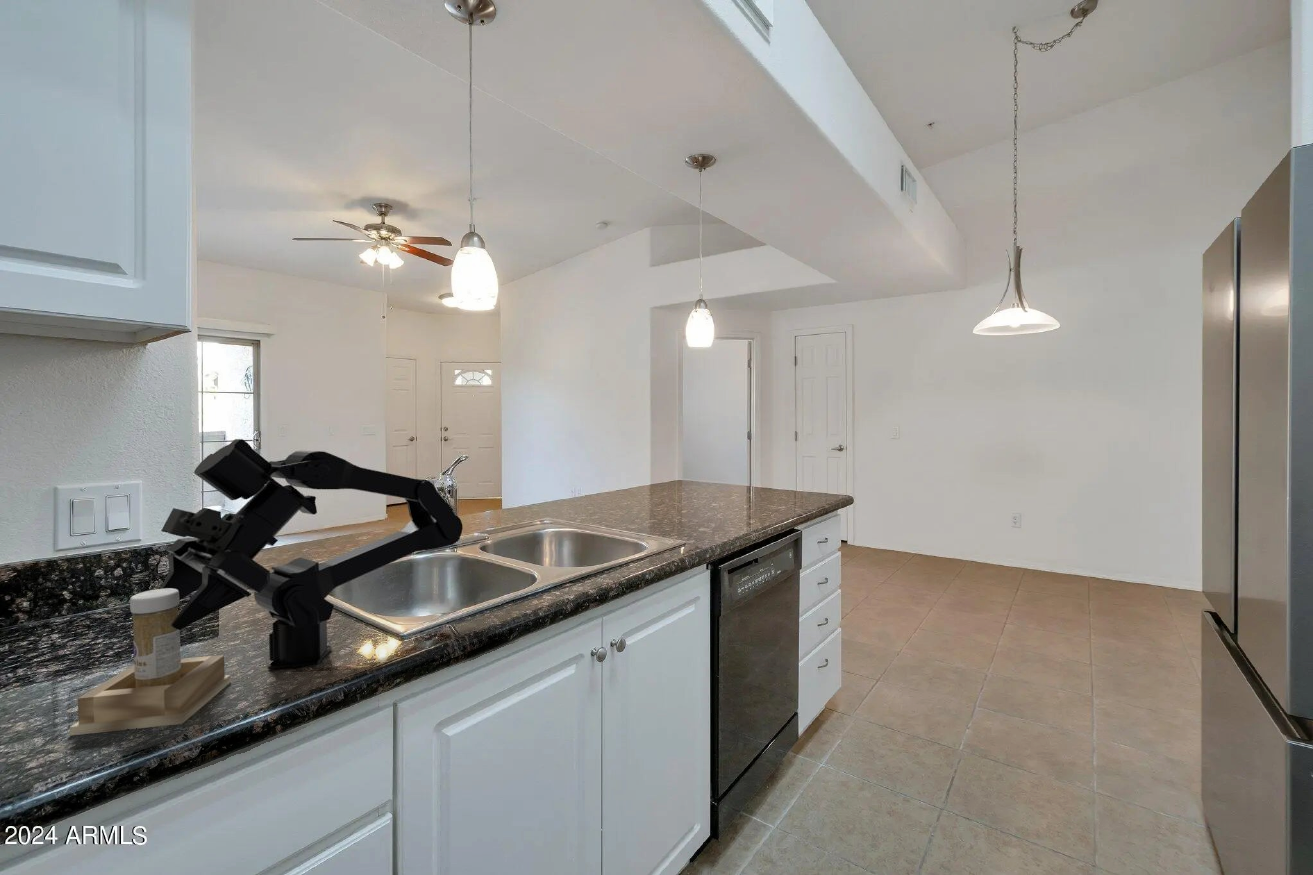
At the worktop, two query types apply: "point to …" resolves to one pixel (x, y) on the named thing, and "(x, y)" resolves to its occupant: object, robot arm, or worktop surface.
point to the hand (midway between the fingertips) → (161, 620)
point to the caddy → (150, 698)
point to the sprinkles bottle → (156, 637)
